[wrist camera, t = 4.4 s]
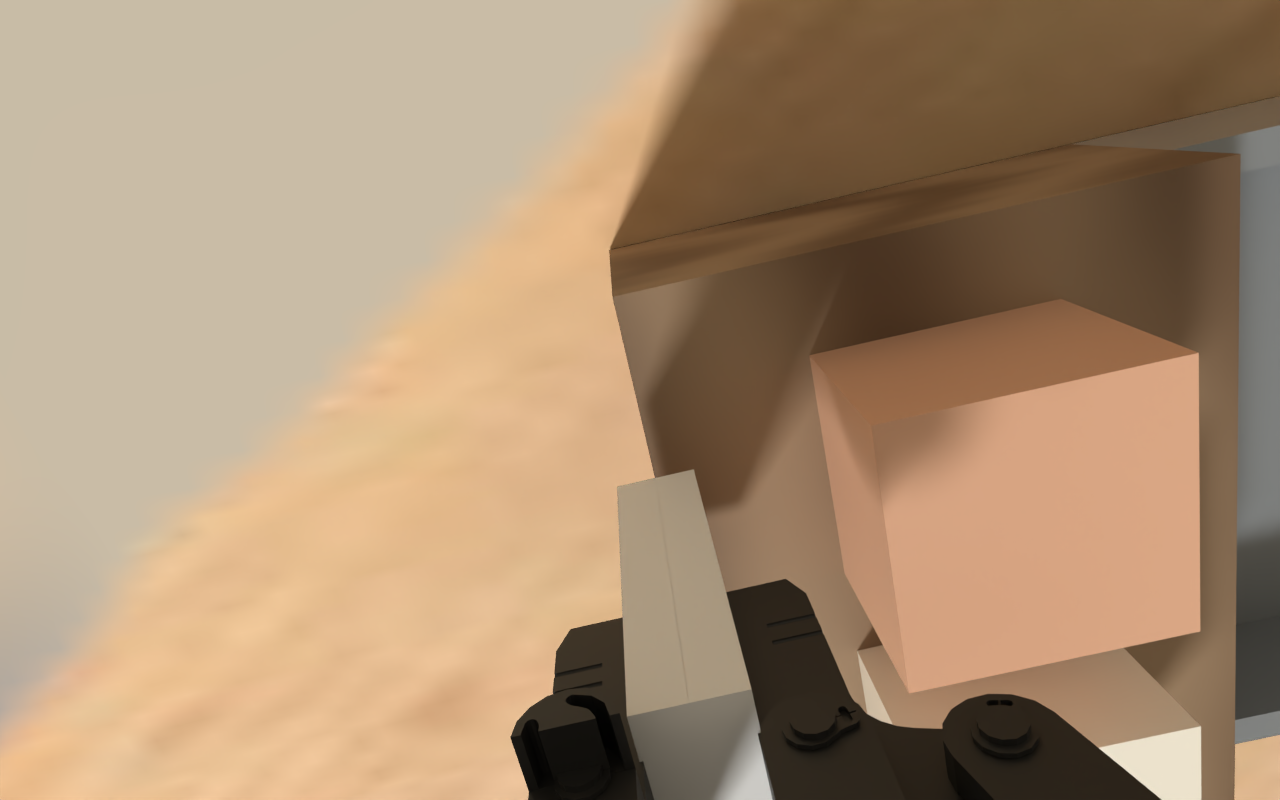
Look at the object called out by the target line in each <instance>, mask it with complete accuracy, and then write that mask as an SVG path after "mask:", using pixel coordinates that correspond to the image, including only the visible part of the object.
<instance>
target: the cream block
mask: <svg viewBox="0 0 1280 800" xmlns="http://www.w3.org/2000/svg"><path fill="white" fill-rule="evenodd" d="M857 653H858V659H859V665H860V671H861V677H862V684H863V690H864V696H865V702H866V708H867V714H868V715H870V716H872V717H874V718H876V719H878V720H880V721H882V722H885V723H889V724H892V725H896V726H902V727H911V728H933V729H942V723H943V722H944V720H945V718H946V717H947V715H948V713H949V712H950V710H951V709H952V708H954V707H955V706H957V705H958V704H960V703H961V702H963V701H965V700H966V699H969V698H973V697H977V696H981V695H985V694H1013V695H1017V696H1020V697H1024V698H1028V699H1031V700H1035V701H1037V702H1038V703H1040V704H1042V705H1044V706H1045V707H1047V708H1049V709H1050V710H1052V711H1054V712H1055V713H1057V714H1058V715H1059V716H1060V717H1061V718H1063V719H1064V720H1065V721H1066V722H1068V723H1069V724H1070V725H1071V726H1072V727H1074V728H1075V729H1076V730H1077V731H1079V732H1080V733H1081V734H1082V735H1083V736H1085V737H1086V738H1087V739H1088V740H1090V741H1091V742H1092V743H1093V744H1094V745H1096V746H1097V747H1098V748H1099V749H1100V750H1102V751H1103V752H1104V753H1105V754H1107V755H1108V756H1109V757H1110V758H1111V759H1113V760H1114V761H1115V762H1116V763H1118V764H1119V765H1120V766H1121V767H1122V768H1124V769H1125V770H1126V771H1127V772H1129V773H1130V774H1131V775H1132V776H1133V777H1135V778H1136V779H1137V780H1138V781H1140V782H1141V783H1142V784H1143V785H1144V786H1146V787H1147V788H1148V789H1149V790H1151V791H1152V792H1153V793H1154V794H1155V795H1157V796H1158V797H1159V798H1160V799H1162V800H1201V726H1200V725H1199V724H1198V723H1197V722H1196V721H1195V720H1194V719H1193V718H1192V717H1191V716H1190V715H1189V714H1188V713H1187V712H1186V711H1185V710H1184V709H1183V708H1182V707H1181V706H1180V705H1179V703H1178V702H1177V701H1176V700H1175V699H1174V698H1173V697H1172V696H1171V695H1170V694H1169V693H1168V692H1167V691H1166V690H1165V689H1164V688H1163V687H1162V686H1161V685H1160V684H1159V683H1158V682H1157V681H1156V680H1155V679H1154V678H1153V677H1152V676H1151V675H1150V674H1149V673H1148V672H1147V671H1146V670H1145V669H1144V668H1143V667H1142V666H1141V665H1140V664H1139V663H1138V662H1137V661H1136V660H1135V659H1134V658H1133V657H1132V656H1131V655H1130V654H1129V653H1128V652H1127V651H1126V650H1125V649H1124V648H1120V649H1116V650H1111V651H1106V652H1102V653H1097V654H1092V655H1088V656H1083V657H1078V658H1073V659H1069V660H1064V661H1059V662H1055V663H1050V664H1045V665H1041V666H1036V667H1031V668H1026V669H1022V670H1017V671H1012V672H1008V673H1003V674H998V675H994V676H989V677H984V678H980V679H975V680H970V681H965V682H961V683H956V684H951V685H947V686H942V687H937V688H933V689H928V690H923V691H919V692H914V693H908V691H907V689H906V687H905V685H904V683H903V681H902V680H901V678H900V676H899V674H898V672H897V670H896V668H895V666H894V665H893V663H892V661H891V659H890V657H889V655H888V653H887V652H886V650H885V648H884V646H883V645H881V646H876V647H872V648H867V649H863V650H858V651H857Z"/></svg>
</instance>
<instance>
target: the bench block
mask: <svg viewBox="0 0 1280 800" xmlns="http://www.w3.org/2000/svg"><path fill="white" fill-rule="evenodd" d="M1240 166H1241V154H1236V153H1218V152H1200V151H1182V150H1164V149H1147V148H1129V147H1111V146H1093V145H1075V144H1070V145H1065V146H1061V147H1056V148H1052V149H1048V150H1043V151H1039V152H1035V153H1030V154H1026V155H1022V156H1017V157H1013V158H1009V159H1004V160H1000V161H995V162H991V163H987V164H982V165H978V166H974V167H969V168H965V169H961V170H956V171H952V172H948V173H943V174H939V175H935V176H930V177H926V178H921V179H917V180H913V181H908V182H904V183H900V184H895V185H891V186H887V187H882V188H878V189H874V190H869V191H865V192H860V193H856V194H852V195H847V196H843V197H839V198H834V199H830V200H826V201H821V202H817V203H813V204H808V205H804V206H800V207H795V208H791V209H786V210H782V211H778V212H773V213H769V214H765V215H760V216H756V217H752V218H747V219H743V220H739V221H734V222H730V223H725V224H721V225H717V226H712V227H708V228H704V229H699V230H695V231H691V232H686V233H682V234H678V235H673V236H669V237H665V238H660V239H656V240H651V241H647V242H643V243H638V244H634V245H630V246H625V247H621V248H617V249H612V250H609V253H610V267H611V281H612V295H613V301H614V305H615V309H616V313H617V318H618V322H619V326H620V330H621V335H622V339H623V343H624V347H625V352H626V356H627V360H628V364H629V369H630V373H631V377H632V381H633V386H634V390H635V394H636V398H637V403H638V407H639V411H640V415H641V420H642V424H643V428H644V432H645V437H646V441H647V445H648V449H649V454H650V458H651V462H652V466H653V471H654V475H655V478H658V477H662V476H667V475H671V474H675V473H680V472H684V471H688V470H693V469H694V473H695V476H696V480H697V484H698V488H699V492H700V495H701V499H702V503H703V507H704V511H705V514H706V518H707V522H708V526H709V530H710V533H711V537H712V541H713V545H714V549H715V552H716V556H717V560H718V564H719V568H720V571H721V575H722V579H723V583H724V587H725V590H726V592H729V591H733V590H738V589H742V588H747V587H751V586H756V585H760V584H765V583H769V582H774V581H778V580H783V579H787V580H788V581H790V582H791V583H793V584H794V585H795V586H797V587H798V588H800V589H801V590H802V591H804V592H805V593H806V594H807V596H808V598H809V601H810V603H811V605H812V608H813V610H814V612H815V616H816V617H817V619H818V622H819V624H820V626H821V629H822V632H823V634H824V636H825V638H826V640H827V642H828V645H829V647H830V649H831V652H832V654H833V656H834V659H835V661H836V663H837V666H838V668H839V670H840V673H841V675H842V677H843V679H844V682H845V684H846V686H847V689H848V691H849V693H850V695H851V697H852V699H853V700H854V702H856V703H858V704H859V705H860V706H861V708H862V709H863V710H864V711H865V713H867V708H866V702H865V696H864V690H863V684H862V677H861V671H860V665H859V659H858V653H857V651H858V650H863V649H867V648H872V647H876V646H881V645H883V644H882V642H881V640H880V639H879V637H878V635H877V633H876V631H875V629H874V627H873V625H872V624H871V622H870V620H869V618H868V616H867V614H866V612H865V611H864V609H863V607H862V605H861V603H860V601H859V599H858V598H857V596H856V594H855V592H854V590H853V588H852V586H851V585H850V583H849V581H848V579H847V577H846V575H845V573H844V566H843V560H842V554H841V548H840V542H839V536H838V529H837V523H836V517H835V511H834V505H833V499H832V492H831V486H830V480H829V474H828V468H827V462H826V455H825V449H824V443H823V437H822V431H821V424H820V418H819V412H818V406H817V400H816V394H815V387H814V381H813V375H812V369H811V363H810V357H809V355H813V354H817V353H822V352H826V351H831V350H835V349H840V348H844V347H849V346H853V345H858V344H862V343H866V342H871V341H875V340H880V339H884V338H889V337H893V336H898V335H902V334H906V333H911V332H915V331H920V330H924V329H929V328H933V327H938V326H942V325H947V324H951V323H955V322H960V321H964V320H969V319H973V318H978V317H982V316H987V315H991V314H995V313H1000V312H1004V311H1009V310H1013V309H1018V308H1022V307H1027V306H1031V305H1035V304H1040V303H1044V302H1049V301H1053V300H1058V299H1063V300H1065V301H1068V302H1070V303H1073V304H1076V305H1078V306H1081V307H1083V308H1086V309H1088V310H1091V311H1093V312H1096V313H1098V314H1101V315H1104V316H1106V317H1109V318H1111V319H1114V320H1116V321H1119V322H1121V323H1124V324H1126V325H1129V326H1132V327H1134V328H1137V329H1139V330H1142V331H1144V332H1147V333H1149V334H1152V335H1155V336H1157V337H1160V338H1162V339H1165V340H1167V341H1170V342H1172V343H1175V344H1177V345H1180V346H1183V347H1185V348H1188V349H1190V350H1193V351H1195V352H1198V353H1199V485H1200V632H1195V633H1191V634H1186V635H1181V636H1177V637H1172V638H1167V639H1163V640H1158V641H1153V642H1149V643H1144V644H1139V645H1134V646H1130V647H1125V648H1124V649H1125V650H1126V651H1127V652H1128V653H1129V654H1130V655H1131V656H1132V657H1133V658H1134V659H1135V660H1136V661H1137V662H1138V663H1139V664H1140V665H1141V666H1142V667H1143V668H1144V669H1145V670H1146V671H1147V672H1148V673H1149V674H1150V675H1151V676H1152V677H1153V678H1154V679H1155V680H1156V681H1157V682H1158V683H1159V684H1160V685H1161V686H1162V687H1163V688H1164V689H1165V690H1166V691H1167V692H1168V693H1169V694H1170V695H1171V696H1172V697H1173V698H1174V699H1175V700H1176V701H1177V702H1178V703H1179V705H1180V706H1181V707H1182V708H1183V709H1184V710H1185V711H1186V712H1187V713H1188V714H1189V715H1190V716H1191V717H1192V718H1193V719H1194V720H1195V721H1196V722H1197V723H1198V724H1199V725H1200V726H1201V800H1234V774H1235V673H1236V572H1237V470H1238V369H1239V268H1240Z"/></svg>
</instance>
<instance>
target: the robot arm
mask: <svg viewBox="0 0 1280 800" xmlns="http://www.w3.org/2000/svg"><path fill="white" fill-rule="evenodd" d="M617 494H618V518H619V542H620V566H621V589H622V613H623V618H619V619H614V620H610V621H605V622H601V623H596V624H592V625H587V626H583V627H578V628H574V629H571V630H570V631H569V633H568V634H567V636H566V637H565V639H564V640H563V642H562V643H561V645H560V647H559V648H558V650H557V651H556V662H555V678H554V686H553V695H550V696H547V697H545V698H544V699H542V700H541V701H539V702H538V703H536V704H535V705H533V706H531V707H530V708H529V709H528V710H527V711H526V712H525V713H524V714H523V716H522V717H521V718H520V719H519V720H518V721H517V722H516V725H515V727H514V730H513V732H512V735H511V740H512V743H513V746H514V749H515V752H516V755H517V758H518V761H519V764H520V767H521V769H522V772H523V775H524V778H525V781H526V784H527V787H528V790H529V798H528V800H1162V799H1160V798H1159V797H1158V796H1157V795H1155V794H1154V793H1153V792H1152V791H1151V790H1149V789H1148V788H1147V787H1146V786H1144V785H1143V784H1142V783H1141V782H1140V781H1138V780H1137V779H1136V778H1135V777H1133V776H1132V775H1131V774H1130V773H1129V772H1127V771H1126V770H1125V769H1124V768H1122V767H1121V766H1120V765H1119V764H1118V763H1116V762H1115V761H1114V760H1113V759H1111V758H1110V757H1109V756H1108V755H1107V754H1105V753H1104V752H1103V751H1102V750H1100V749H1099V748H1098V747H1097V746H1096V745H1094V744H1093V743H1092V742H1091V741H1090V740H1088V739H1087V738H1086V737H1085V736H1083V735H1082V734H1081V733H1080V732H1079V731H1077V730H1076V729H1075V728H1074V727H1072V726H1071V725H1070V724H1069V723H1068V722H1066V721H1065V720H1064V719H1063V718H1061V717H1060V716H1059V715H1058V714H1057V713H1055V712H1054V711H1052V710H1050V709H1049V708H1047V707H1045V706H1044V705H1042V704H1040V703H1038V702H1037V701H1035V700H1031V699H1028V698H1024V697H1020V696H1017V695H1013V694H985V695H981V696H977V697H973V698H969V699H966V700H965V701H963V702H961V703H960V704H958V705H957V706H955V707H954V708H952V709H951V710H950V712H949V713H948V715H947V717H946V718H945V720H944V722H943V723H942V729H933V728H911V727H902V726H896V725H892V724H889V723H885V722H882V721H880V720H878V719H876V718H874V717H872V716H870V715H868V714H867V713H865V711H864V710H863V709H862V708H861V706H860V705H859V704H858V703H856V702H854V700H853V699H852V697H851V695H850V693H849V691H848V689H847V686H846V684H845V682H844V679H843V677H842V675H841V673H840V670H839V668H838V666H837V663H836V661H835V659H834V656H833V654H832V652H831V649H830V647H829V645H828V642H827V640H826V638H825V636H824V634H823V632H822V629H821V626H820V624H819V622H818V619H817V617H816V616H815V612H814V610H813V608H812V605H811V603H810V601H809V598H808V596H807V594H806V593H805V592H804V591H802V590H801V589H800V588H798V587H797V586H795V585H794V584H793V583H791V582H790V581H788V580H787V579H783V580H778V581H774V582H769V583H765V584H760V585H756V586H751V587H747V588H742V589H738V590H733V591H729V592H726V590H725V587H724V583H723V579H722V575H721V571H720V568H719V564H718V560H717V556H716V552H715V549H714V545H713V541H712V537H711V533H710V530H709V526H708V522H707V518H706V514H705V511H704V507H703V503H702V499H701V495H700V492H699V488H698V484H697V480H696V476H695V473H694V469H693V470H688V471H684V472H680V473H675V474H671V475H667V476H662V477H658V478H653V479H649V480H645V481H640V482H636V483H632V484H627V485H623V486H618V487H617Z"/></svg>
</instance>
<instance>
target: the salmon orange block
mask: <svg viewBox="0 0 1280 800" xmlns="http://www.w3.org/2000/svg"><path fill="white" fill-rule="evenodd" d="M809 357H810V363H811V369H812V375H813V381H814V387H815V394H816V400H817V406H818V412H819V418H820V424H821V431H822V437H823V443H824V449H825V455H826V462H827V468H828V474H829V480H830V486H831V492H832V499H833V505H834V511H835V517H836V523H837V529H838V536H839V542H840V548H841V554H842V560H843V566H844V573H845V575H846V577H847V579H848V581H849V583H850V585H851V586H852V588H853V590H854V592H855V594H856V596H857V598H858V599H859V601H860V603H861V605H862V607H863V609H864V611H865V612H866V614H867V616H868V618H869V620H870V622H871V624H872V625H873V627H874V629H875V631H876V633H877V635H878V637H879V639H880V640H881V642H882V644H883V646H884V648H885V650H886V652H887V653H888V655H889V657H890V659H891V661H892V663H893V665H894V666H895V668H896V670H897V672H898V674H899V676H900V678H901V680H902V681H903V683H904V685H905V687H906V689H907V691H908V693H914V692H919V691H923V690H928V689H933V688H937V687H942V686H947V685H951V684H956V683H961V682H965V681H970V680H975V679H980V678H984V677H989V676H994V675H998V674H1003V673H1008V672H1012V671H1017V670H1022V669H1026V668H1031V667H1036V666H1041V665H1045V664H1050V663H1055V662H1059V661H1064V660H1069V659H1073V658H1078V657H1083V656H1088V655H1092V654H1097V653H1102V652H1106V651H1111V650H1116V649H1120V648H1125V647H1130V646H1134V645H1139V644H1144V643H1149V642H1153V641H1158V640H1163V639H1167V638H1172V637H1177V636H1181V635H1186V634H1191V633H1195V632H1200V485H1199V353H1198V352H1195V351H1193V350H1190V349H1188V348H1185V347H1183V346H1180V345H1177V344H1175V343H1172V342H1170V341H1167V340H1165V339H1162V338H1160V337H1157V336H1155V335H1152V334H1149V333H1147V332H1144V331H1142V330H1139V329H1137V328H1134V327H1132V326H1129V325H1126V324H1124V323H1121V322H1119V321H1116V320H1114V319H1111V318H1109V317H1106V316H1104V315H1101V314H1098V313H1096V312H1093V311H1091V310H1088V309H1086V308H1083V307H1081V306H1078V305H1076V304H1073V303H1070V302H1068V301H1065V300H1063V299H1058V300H1053V301H1049V302H1044V303H1040V304H1035V305H1031V306H1027V307H1022V308H1018V309H1013V310H1009V311H1004V312H1000V313H995V314H991V315H987V316H982V317H978V318H973V319H969V320H964V321H960V322H955V323H951V324H947V325H942V326H938V327H933V328H929V329H924V330H920V331H915V332H911V333H906V334H902V335H898V336H893V337H889V338H884V339H880V340H875V341H871V342H866V343H862V344H858V345H853V346H849V347H844V348H840V349H835V350H831V351H826V352H822V353H817V354H813V355H809Z"/></svg>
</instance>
